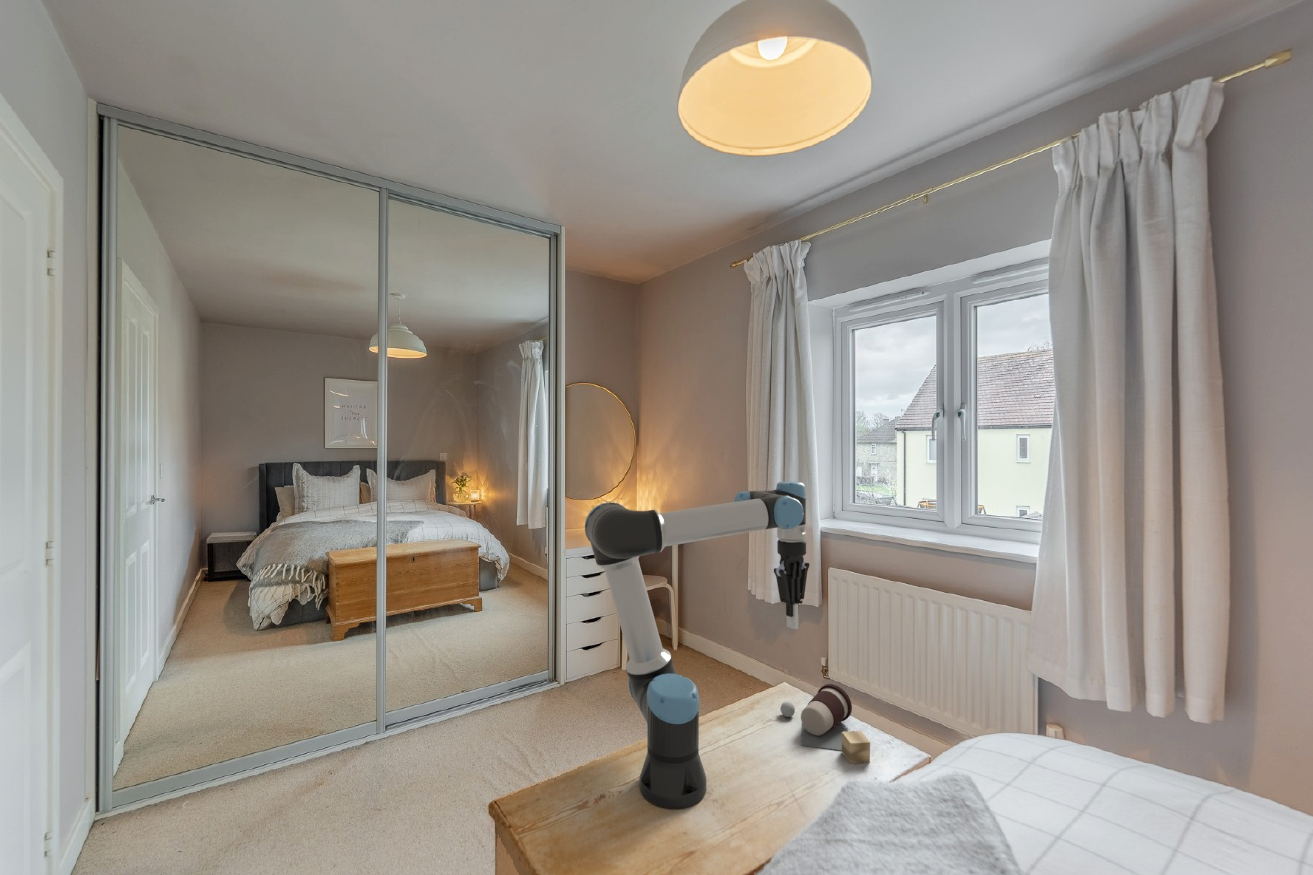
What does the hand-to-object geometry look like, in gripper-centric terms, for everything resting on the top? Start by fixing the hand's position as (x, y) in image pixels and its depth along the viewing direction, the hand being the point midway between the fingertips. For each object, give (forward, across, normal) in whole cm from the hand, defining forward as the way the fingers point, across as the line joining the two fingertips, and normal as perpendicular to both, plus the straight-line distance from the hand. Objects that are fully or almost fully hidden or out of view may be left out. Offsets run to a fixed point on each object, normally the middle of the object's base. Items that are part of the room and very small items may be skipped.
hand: (792, 627), depth 152 cm
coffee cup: (+25, +2, -4) cm, 25 cm away
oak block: (+29, +3, -16) cm, 33 cm away
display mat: (+29, +5, -6) cm, 30 cm away
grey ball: (+29, +7, +7) cm, 30 cm away
